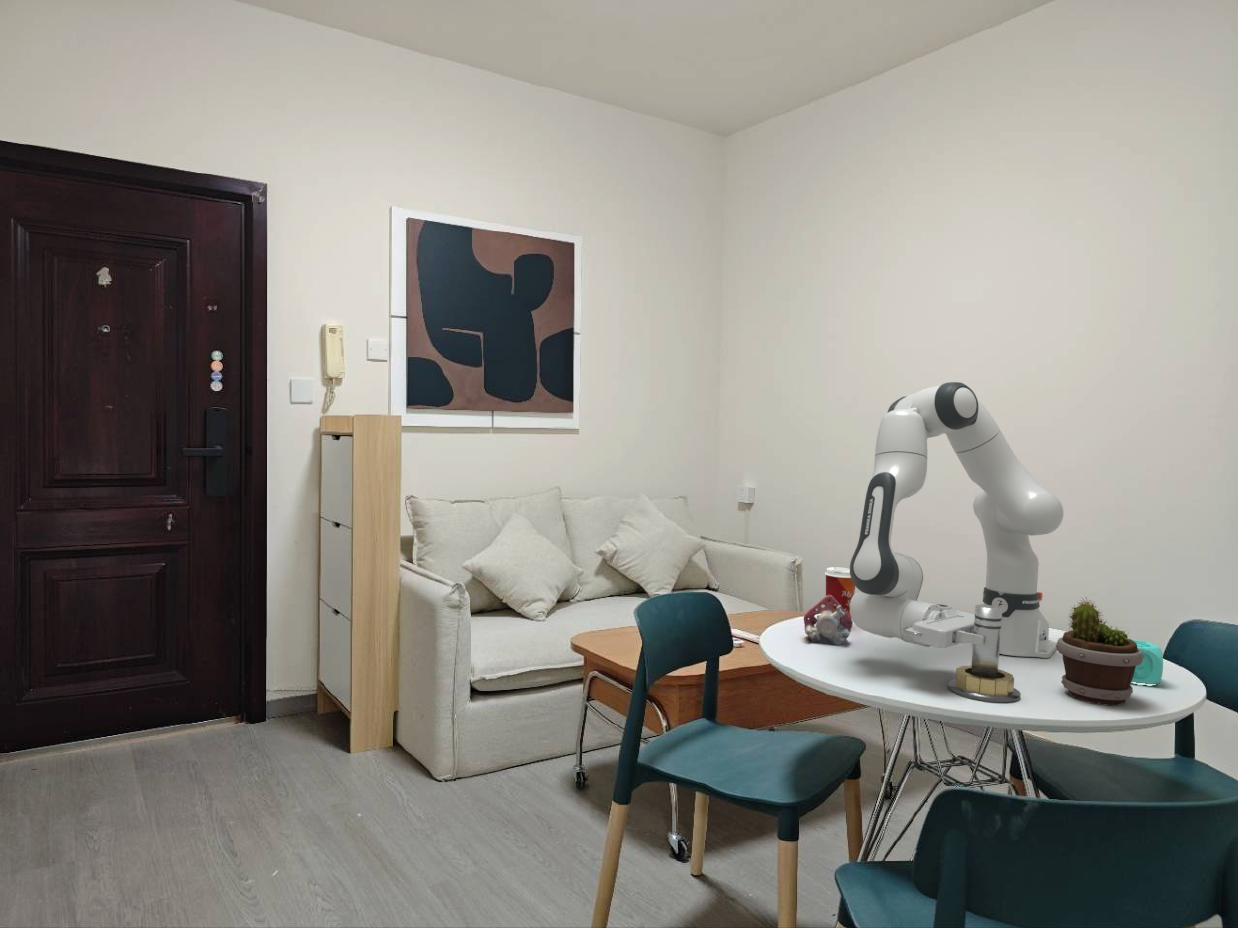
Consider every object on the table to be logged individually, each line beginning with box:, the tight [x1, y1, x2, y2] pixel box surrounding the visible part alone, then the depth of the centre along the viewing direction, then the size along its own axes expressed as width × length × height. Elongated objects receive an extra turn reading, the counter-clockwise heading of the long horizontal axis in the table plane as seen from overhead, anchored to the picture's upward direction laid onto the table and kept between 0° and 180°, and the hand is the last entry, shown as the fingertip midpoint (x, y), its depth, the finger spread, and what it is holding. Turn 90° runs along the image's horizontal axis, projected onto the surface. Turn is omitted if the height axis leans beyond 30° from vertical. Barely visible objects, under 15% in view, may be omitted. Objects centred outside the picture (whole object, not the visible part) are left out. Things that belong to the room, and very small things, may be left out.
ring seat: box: [947, 665, 1022, 704], centre depth 167 cm, size 13×13×4 cm
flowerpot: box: [1056, 597, 1144, 706], centre depth 167 cm, size 14×15×20 cm
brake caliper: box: [803, 595, 854, 646], centre depth 202 cm, size 11×11×12 cm
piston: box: [970, 604, 1002, 679], centre depth 167 cm, size 5×5×15 cm
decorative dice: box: [1130, 638, 1164, 685], centre depth 181 cm, size 8×8×8 cm
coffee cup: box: [824, 566, 856, 626], centre depth 218 cm, size 8×8×15 cm
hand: (991, 638), depth 166 cm, fingers closed on piston, 5 cm apart
